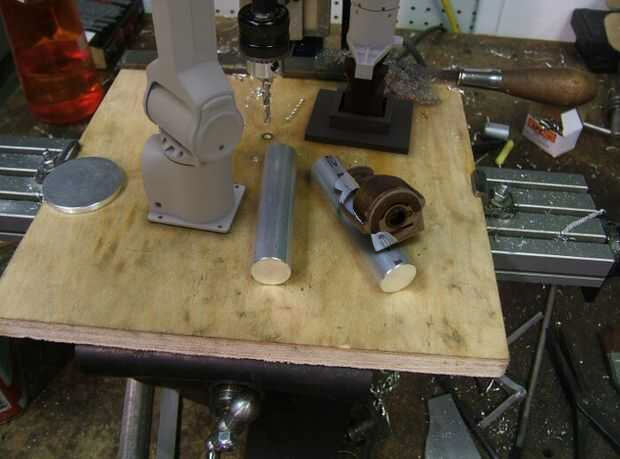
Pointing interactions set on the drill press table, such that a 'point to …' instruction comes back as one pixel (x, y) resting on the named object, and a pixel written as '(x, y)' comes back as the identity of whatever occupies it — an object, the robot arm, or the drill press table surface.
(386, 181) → the brown bearing housing
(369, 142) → the base pad
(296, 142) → the drill press table surface
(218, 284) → the drill press table surface
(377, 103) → the dark brown block
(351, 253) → the drill press table surface
